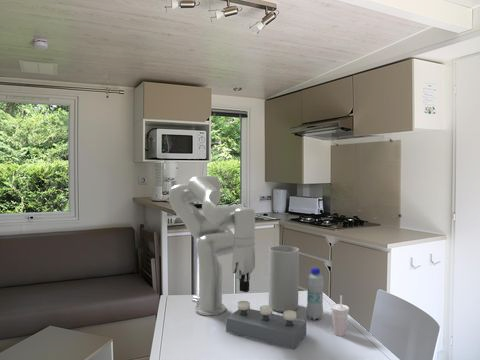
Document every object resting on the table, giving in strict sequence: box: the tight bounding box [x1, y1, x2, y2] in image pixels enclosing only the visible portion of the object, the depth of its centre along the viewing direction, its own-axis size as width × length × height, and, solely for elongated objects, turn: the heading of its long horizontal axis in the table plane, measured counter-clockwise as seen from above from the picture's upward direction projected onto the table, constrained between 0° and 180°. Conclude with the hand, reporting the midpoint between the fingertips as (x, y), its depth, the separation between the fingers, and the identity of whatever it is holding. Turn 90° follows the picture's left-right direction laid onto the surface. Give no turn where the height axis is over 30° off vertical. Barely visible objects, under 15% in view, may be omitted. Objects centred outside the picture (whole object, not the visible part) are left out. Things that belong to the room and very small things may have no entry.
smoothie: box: [330, 295, 350, 337], centre depth 133 cm, size 6×6×14 cm
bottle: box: [306, 267, 325, 321], centre depth 146 cm, size 7×7×20 cm
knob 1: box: [237, 300, 251, 316], centre depth 137 cm, size 4×4×6 cm
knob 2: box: [282, 310, 297, 327], centre depth 128 cm, size 4×4×6 cm
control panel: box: [225, 308, 307, 350], centre depth 132 cm, size 26×12×5 cm, turn 61°
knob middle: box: [259, 304, 273, 321], centre depth 132 cm, size 4×4×6 cm
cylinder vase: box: [268, 245, 300, 313], centre depth 157 cm, size 12×12×25 cm
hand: (244, 291), depth 136 cm, fingers closed
